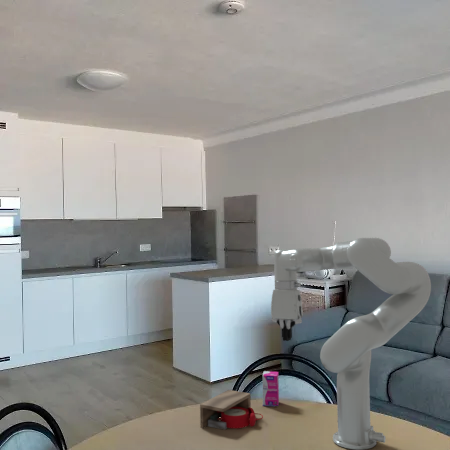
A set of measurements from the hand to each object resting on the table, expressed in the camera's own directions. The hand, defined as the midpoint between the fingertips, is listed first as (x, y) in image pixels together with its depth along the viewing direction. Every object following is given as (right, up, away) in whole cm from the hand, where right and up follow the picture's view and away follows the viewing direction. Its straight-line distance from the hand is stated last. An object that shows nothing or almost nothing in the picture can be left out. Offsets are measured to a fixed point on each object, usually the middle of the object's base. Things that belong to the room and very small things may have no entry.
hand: (287, 340), depth 163 cm
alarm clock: (-16, -28, -2) cm, 32 cm away
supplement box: (-4, -28, +17) cm, 33 cm away
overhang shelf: (-20, -27, 0) cm, 34 cm away
